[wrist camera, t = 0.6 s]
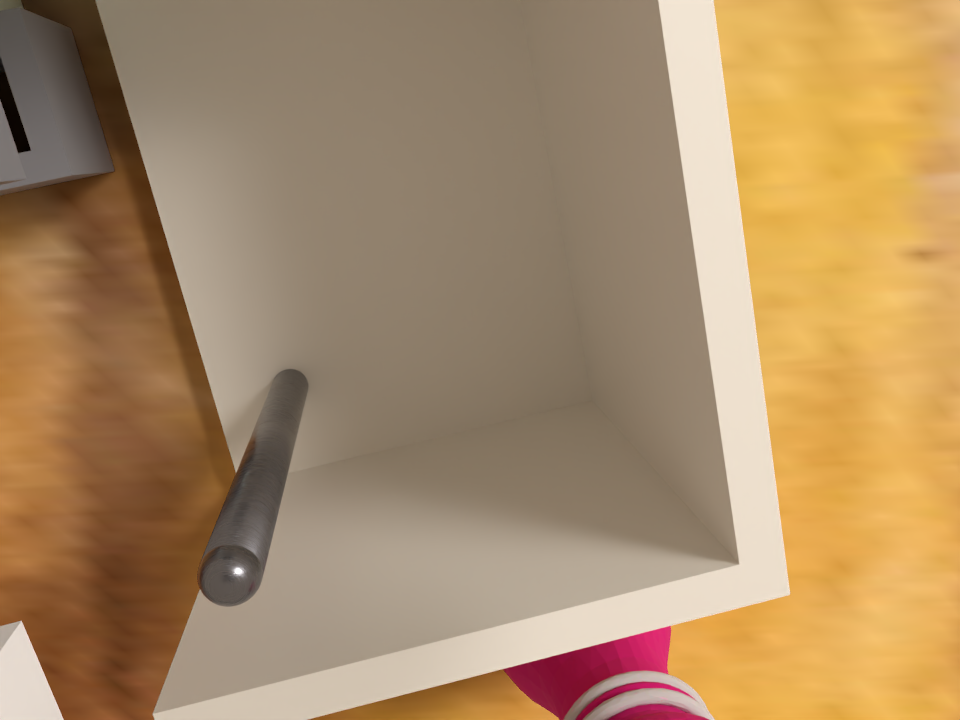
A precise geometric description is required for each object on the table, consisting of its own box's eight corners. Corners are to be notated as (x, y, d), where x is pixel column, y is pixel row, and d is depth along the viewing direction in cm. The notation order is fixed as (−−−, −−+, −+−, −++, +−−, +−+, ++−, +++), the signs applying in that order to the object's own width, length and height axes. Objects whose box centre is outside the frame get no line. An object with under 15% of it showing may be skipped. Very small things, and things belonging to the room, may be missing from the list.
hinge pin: (268, 373, 35) (183, 568, 19) (303, 365, 35) (249, 551, 19) (277, 406, 35) (202, 625, 19) (312, 398, 35) (266, 609, 19)
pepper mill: (523, 664, 41) (665, 1132, 21) (443, 542, 39) (520, 934, 19) (659, 584, 41) (925, 981, 21) (586, 458, 39) (805, 768, 19)
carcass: (79, -80, 31) (-203, -305, 16) (516, -163, 33) (654, -450, 17) (253, 506, 37) (170, 766, 22) (618, 418, 38) (791, 605, 23)
